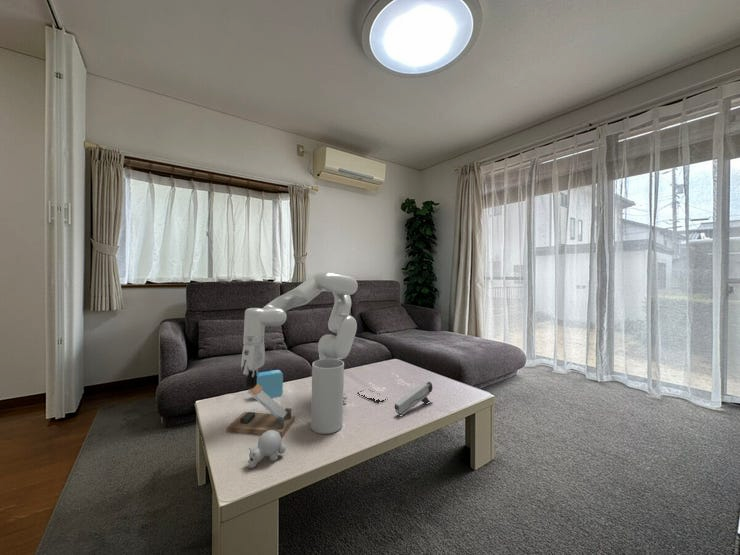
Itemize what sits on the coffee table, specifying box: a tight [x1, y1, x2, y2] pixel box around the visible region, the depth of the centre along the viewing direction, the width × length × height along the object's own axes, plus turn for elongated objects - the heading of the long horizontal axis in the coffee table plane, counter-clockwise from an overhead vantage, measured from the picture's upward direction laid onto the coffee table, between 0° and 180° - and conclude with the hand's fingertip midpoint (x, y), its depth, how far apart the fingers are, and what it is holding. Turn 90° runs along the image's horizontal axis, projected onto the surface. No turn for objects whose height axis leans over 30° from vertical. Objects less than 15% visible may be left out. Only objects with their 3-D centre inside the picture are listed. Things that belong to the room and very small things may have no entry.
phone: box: [356, 389, 386, 404], centre depth 139 cm, size 8×1×15 cm
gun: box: [394, 381, 433, 416], centre depth 128 cm, size 2×25×10 cm, turn 131°
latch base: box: [225, 407, 296, 438], centre depth 109 cm, size 22×12×6 cm, turn 84°
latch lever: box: [247, 384, 288, 417], centre depth 109 cm, size 17×5×2 cm
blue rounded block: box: [256, 369, 284, 399], centre depth 136 cm, size 12×4×12 cm, turn 122°
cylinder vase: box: [310, 359, 345, 435], centre depth 111 cm, size 12×12×25 cm
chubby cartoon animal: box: [244, 430, 287, 469], centre depth 89 cm, size 7×12×8 cm, turn 135°
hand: (251, 386), depth 109 cm, fingers closed
